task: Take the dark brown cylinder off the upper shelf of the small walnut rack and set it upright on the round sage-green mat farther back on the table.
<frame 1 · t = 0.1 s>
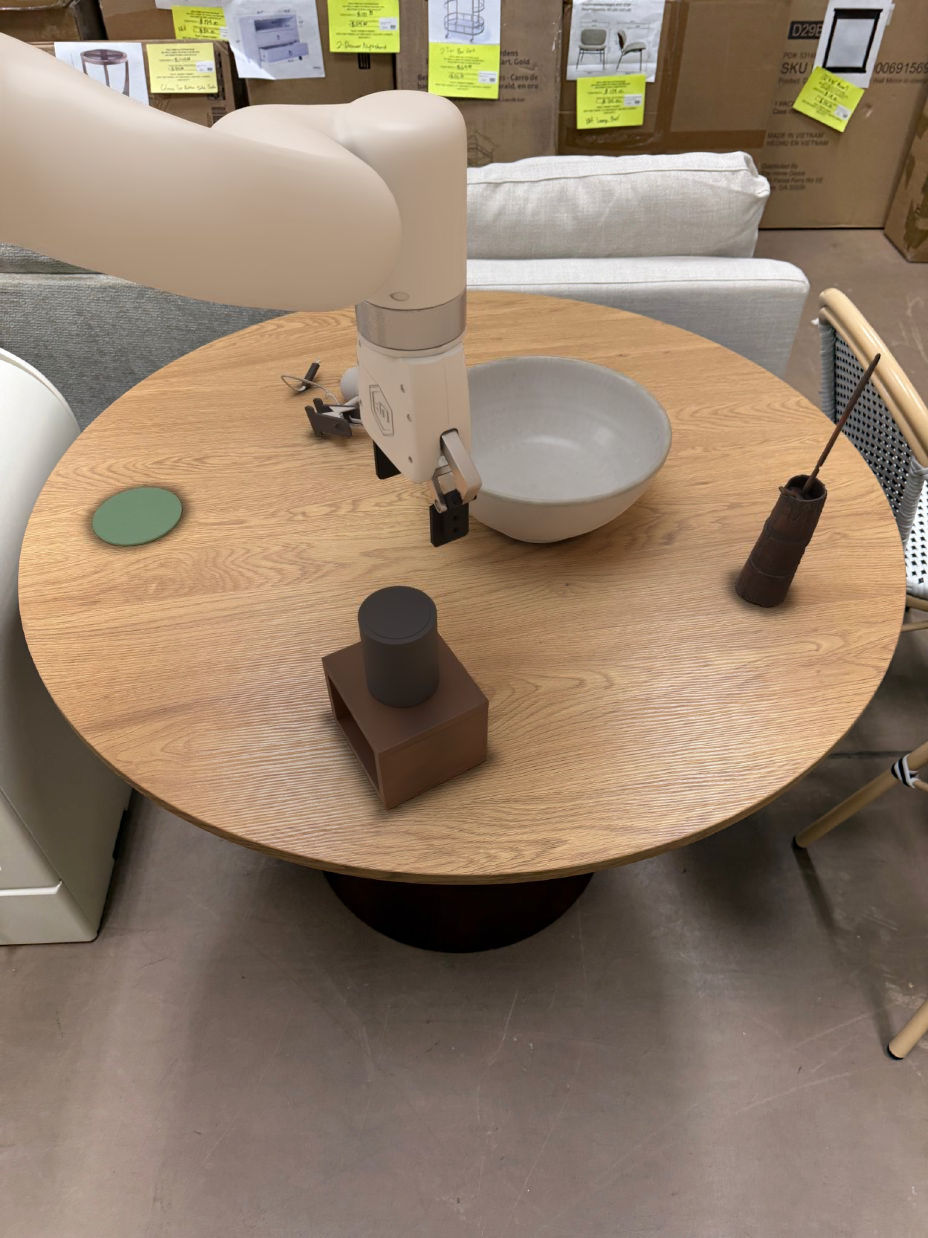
hand: (420, 505, 68), 18 cm above the table, tool pointing down, fingers open, 9 cm apart
clip-on lamp: (338, 411, 109), on the table
mat: (138, 516, 94), on the table
dark brown cylinder: (403, 678, 67), point 9 cm above the table, touching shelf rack
butter churn: (751, 594, 86), on the table
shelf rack: (408, 739, 74), on the table
decorative bowl: (537, 509, 96), on the table
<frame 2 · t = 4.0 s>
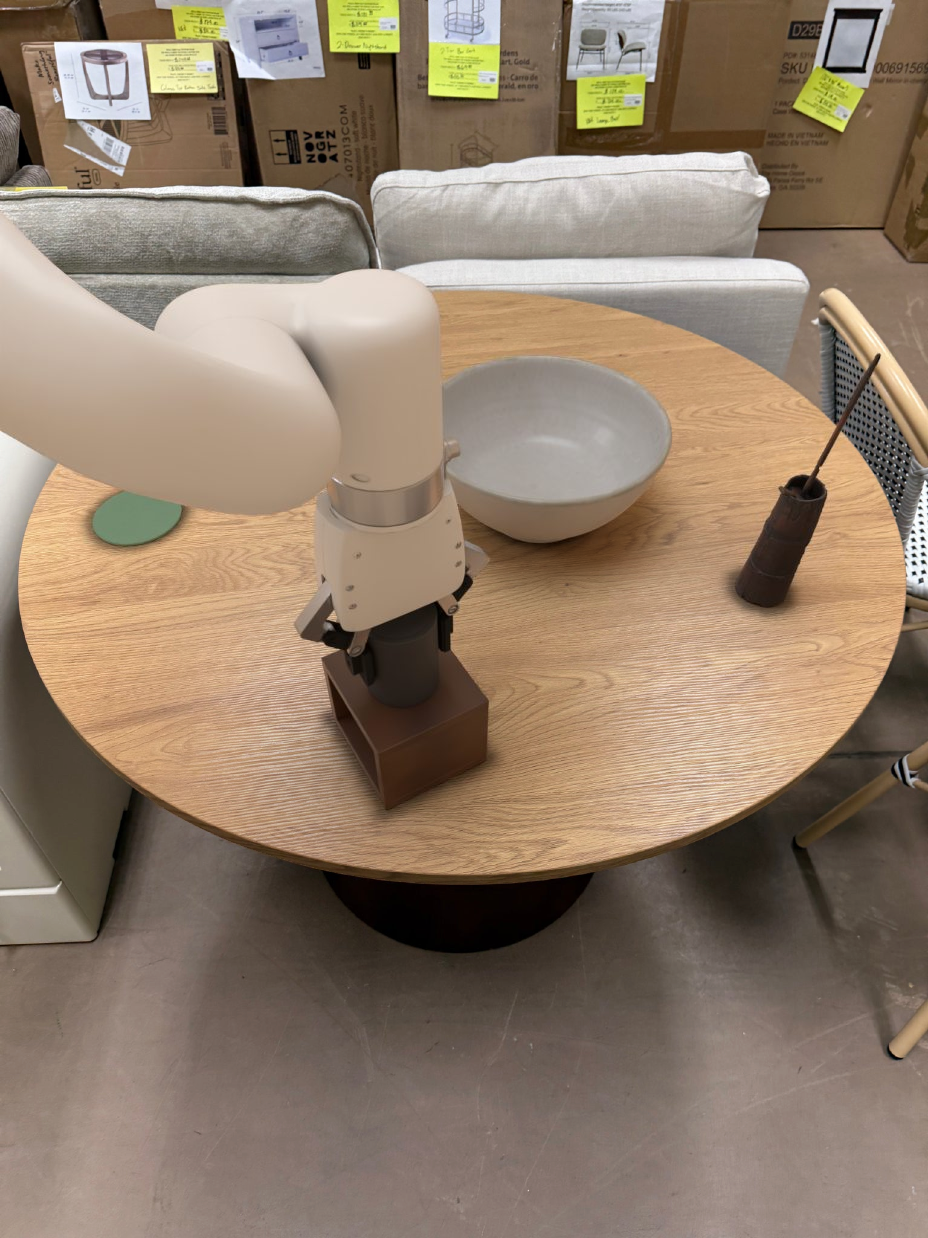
hand: (401, 655, 65), 12 cm above the table, tool pointing down, fingers closed on dark brown cylinder, 6 cm apart
dark brown cylinder: (403, 678, 67), point 9 cm above the table, touching gripper, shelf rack
everything else where it was.
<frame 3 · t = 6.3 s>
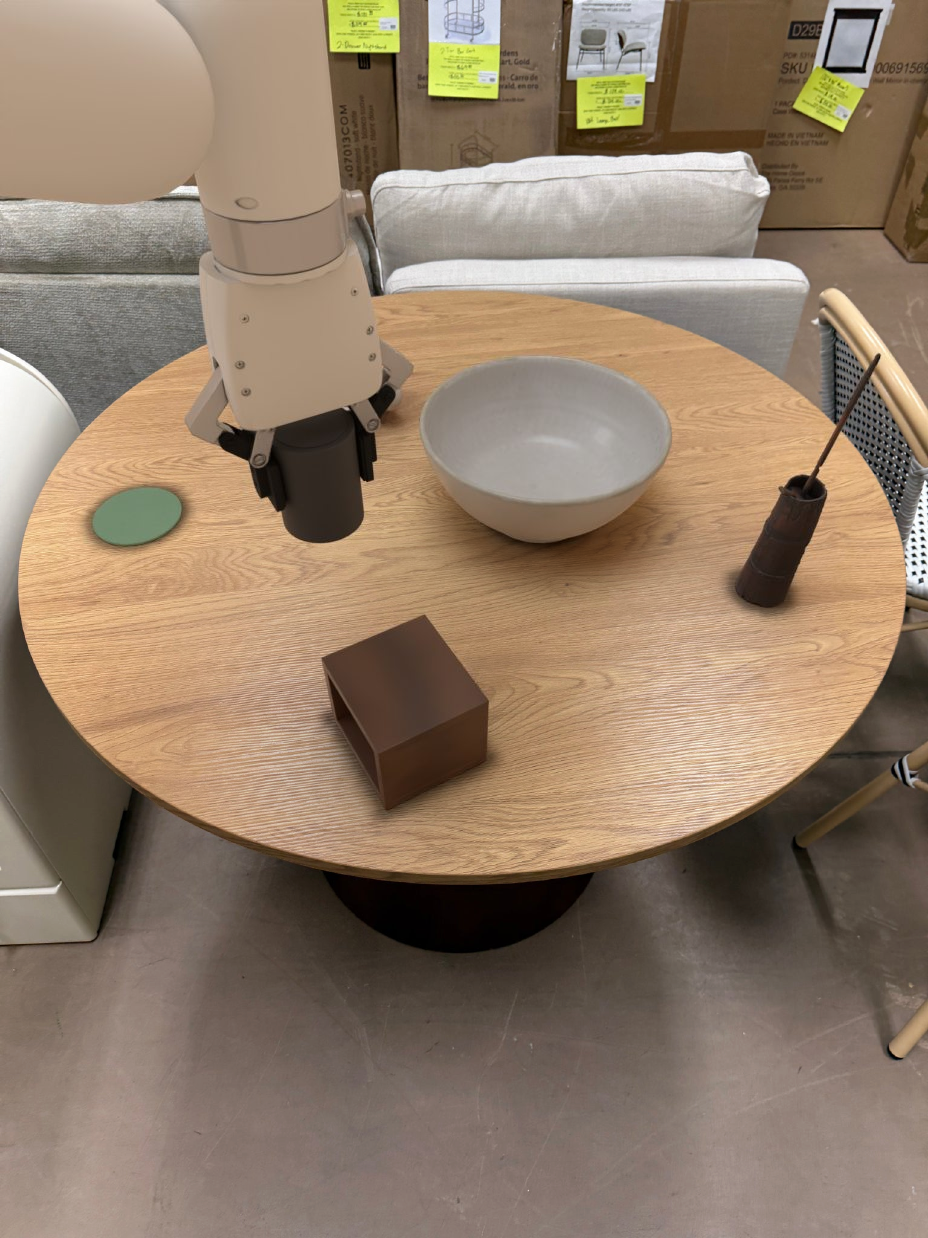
hand: (318, 483, 58), 25 cm above the table, tool pointing down, fingers closed on dark brown cylinder, 6 cm apart
dark brown cylinder: (324, 516, 61), point 22 cm above the table, touching gripper
everything else where it was.
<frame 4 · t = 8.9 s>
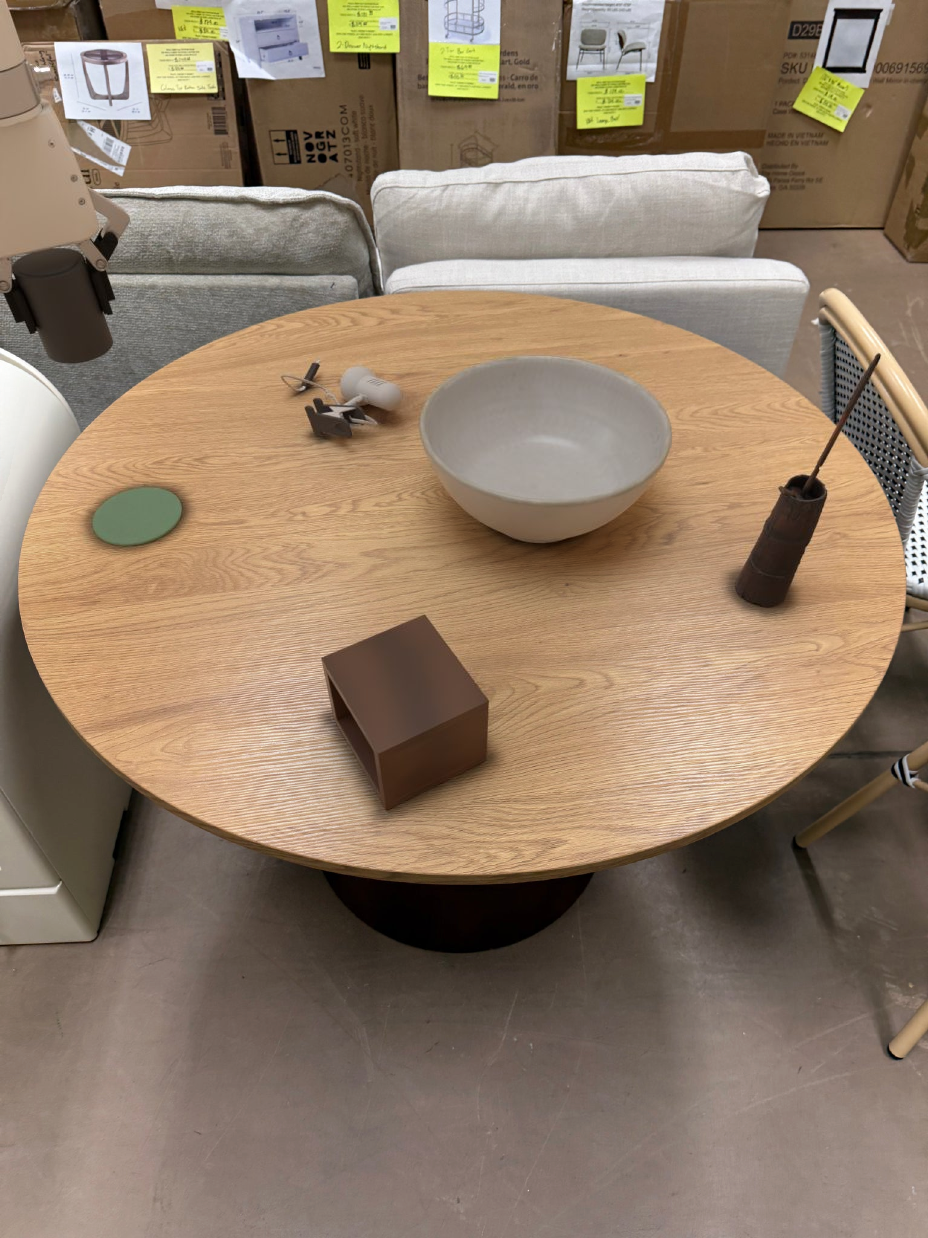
hand: (68, 316, 74), 25 cm above the table, tool pointing down, fingers closed on dark brown cylinder, 6 cm apart
dark brown cylinder: (80, 346, 77), point 22 cm above the table, touching gripper
everything else where it was.
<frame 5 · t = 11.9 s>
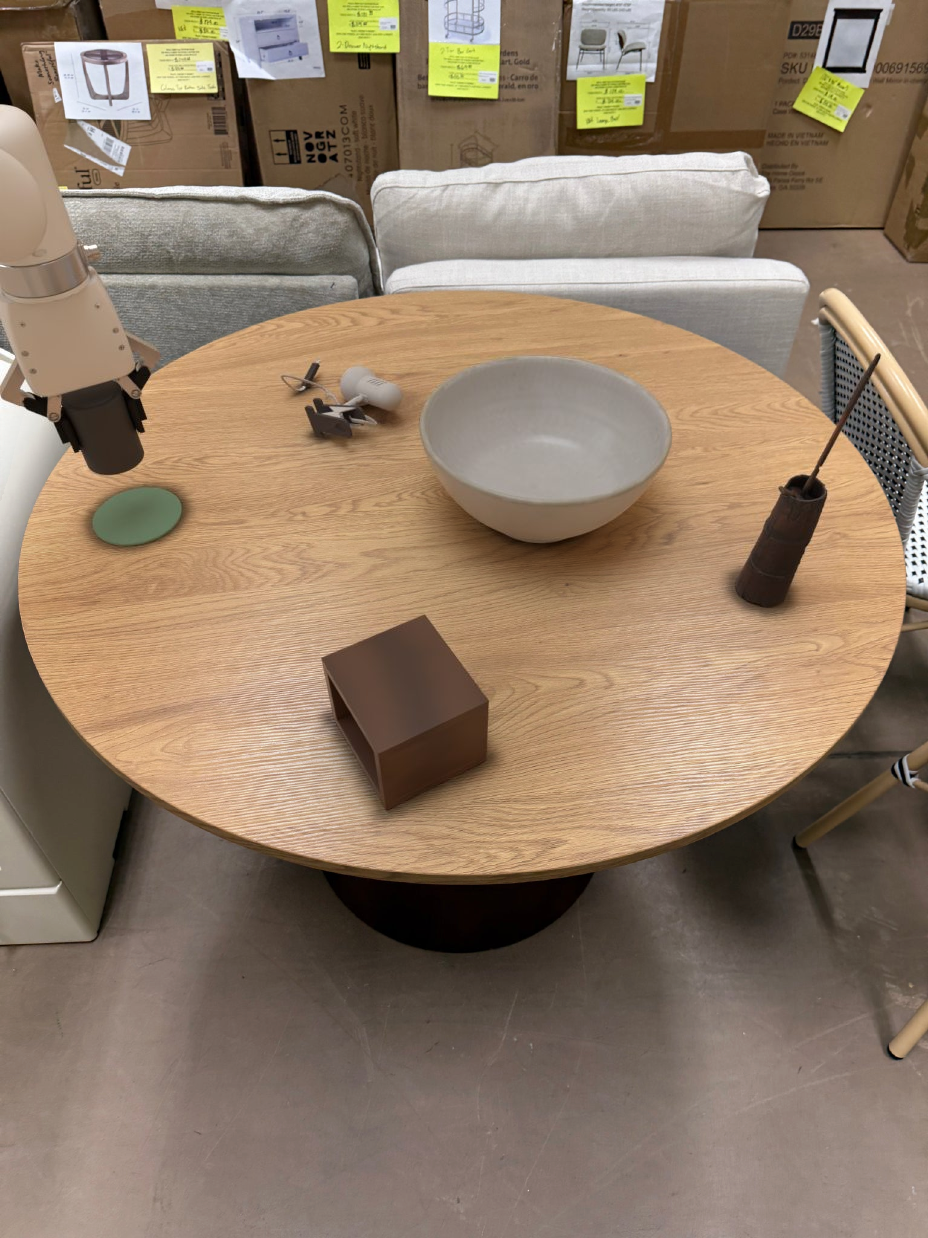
hand: (106, 434, 86), 11 cm above the table, tool pointing down, fingers closed on dark brown cylinder, 6 cm apart
dark brown cylinder: (116, 458, 88), point 8 cm above the table, touching gripper
everything else where it was.
when the fingers open (3 cm above the table, at t = 14.2 s): dark brown cylinder stays where it is, resting on mat.
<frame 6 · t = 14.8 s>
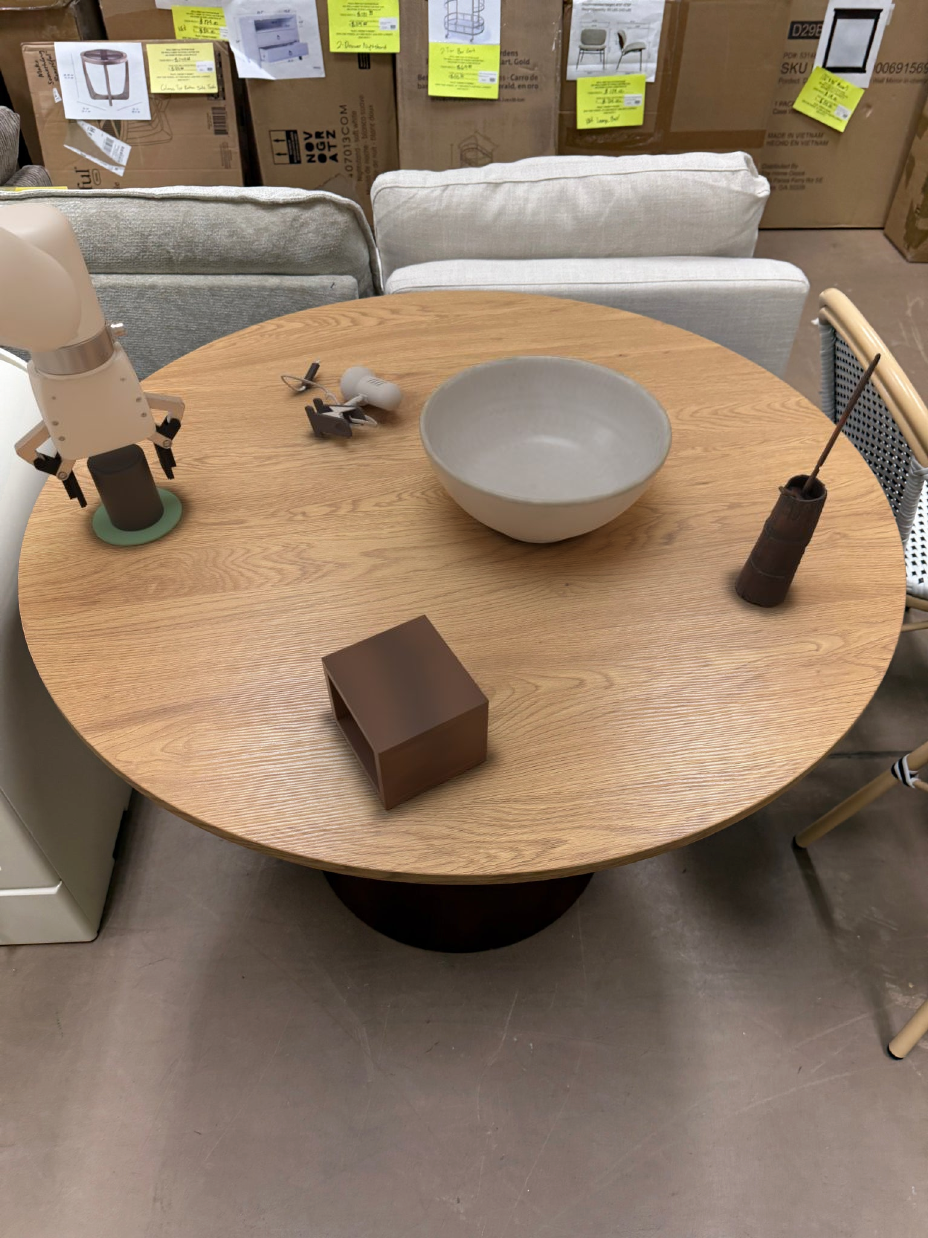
hand: (125, 486, 91), 5 cm above the table, tool pointing down, fingers open, 9 cm apart
dark brown cylinder: (137, 514, 94), resting on mat
everything else where it was.
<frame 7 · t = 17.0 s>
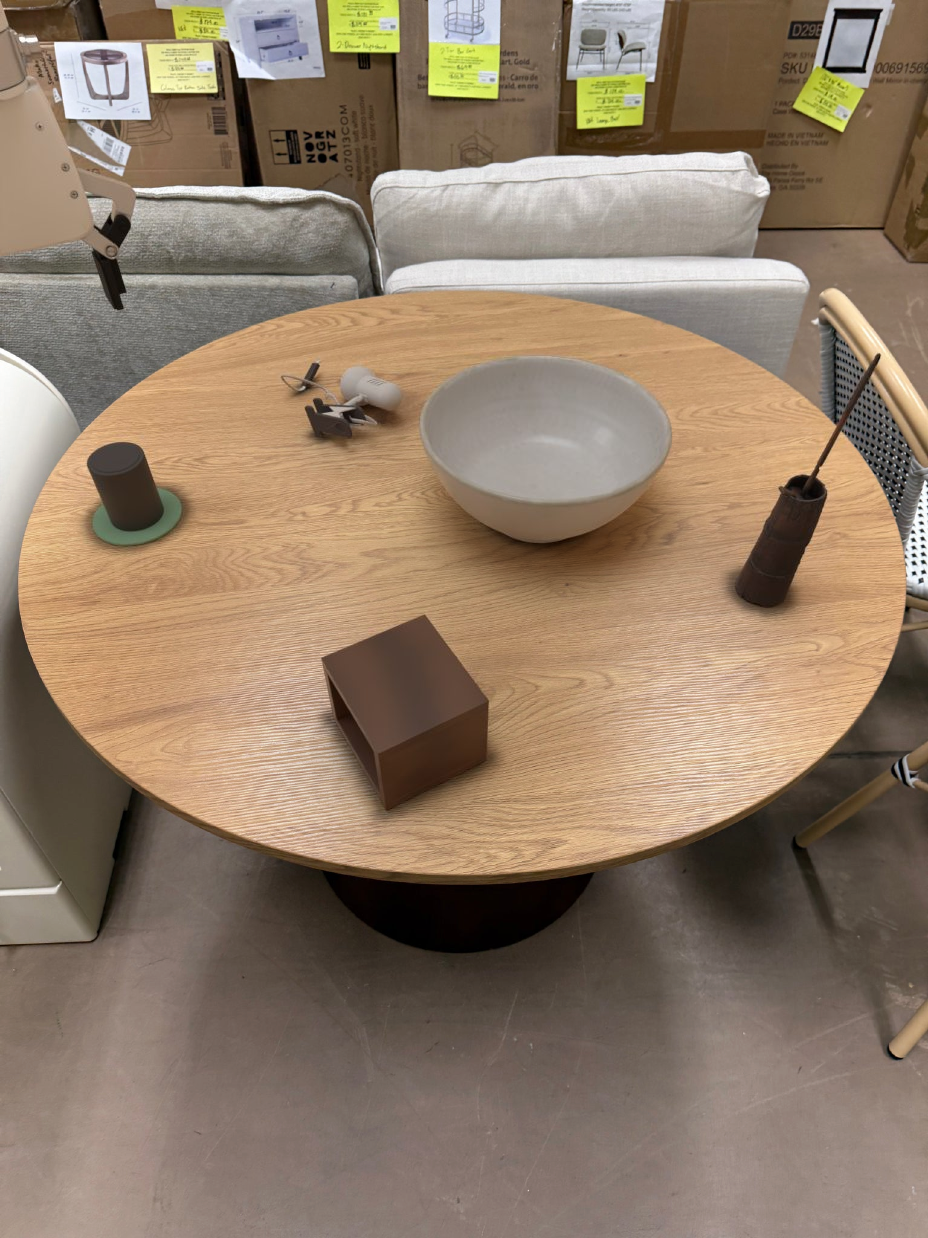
hand: (54, 317, 65), 30 cm above the table, tool pointing down, fingers open, 9 cm apart
nothing on the table moved.
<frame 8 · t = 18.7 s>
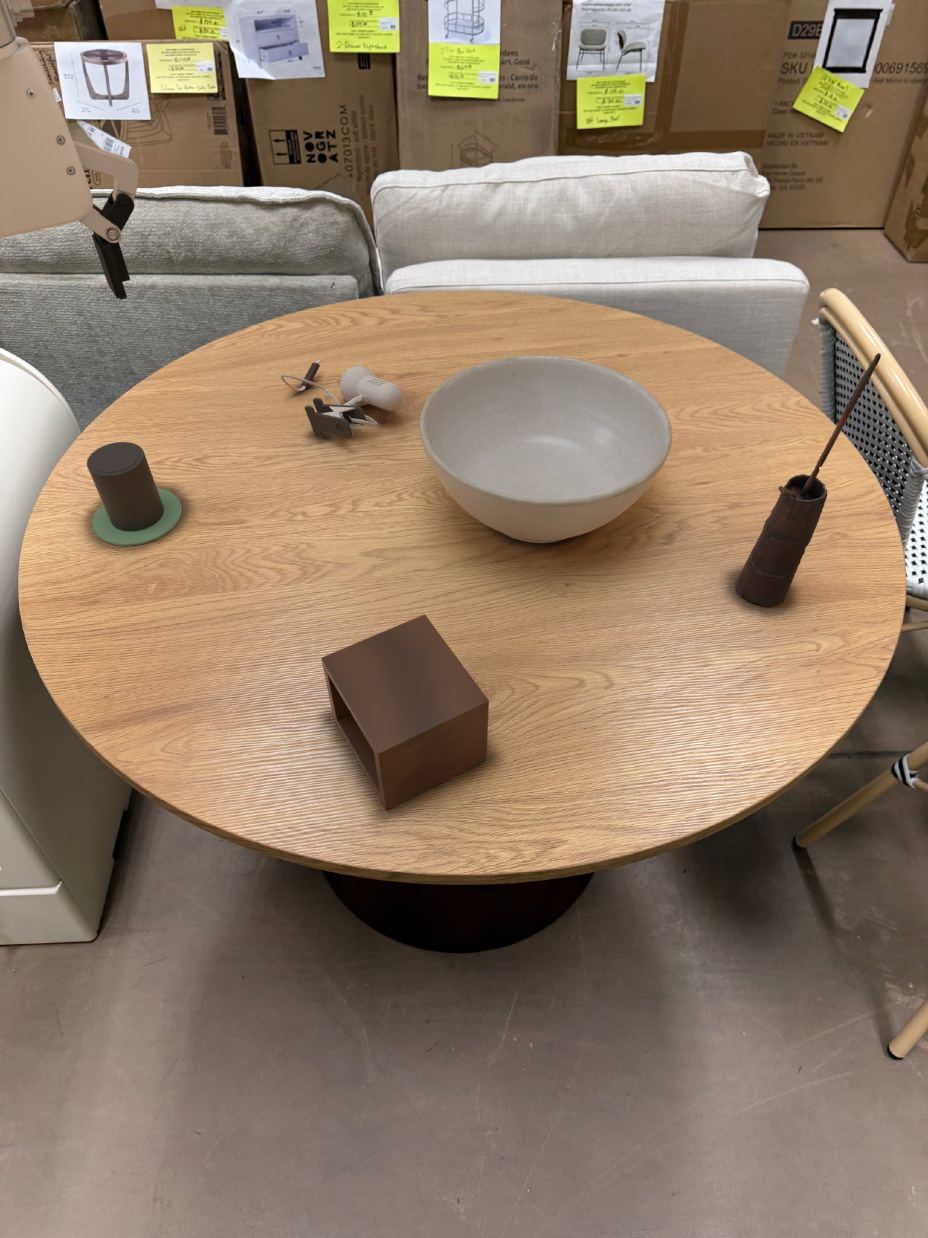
hand: (51, 307, 59), 33 cm above the table, tool pointing down, fingers open, 9 cm apart
nothing on the table moved.
at the end: dark brown cylinder inside the target area on the mat (0.0 cm from its centre), point 0.3 cm above the mat's base; dark brown cylinder tilted 0°; the gripper is holding nothing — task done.
